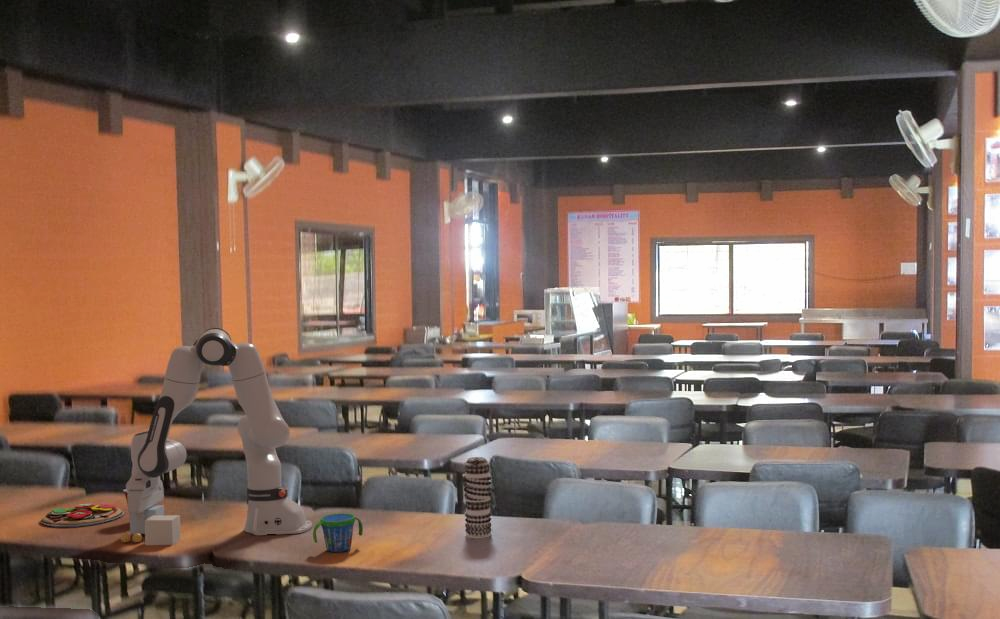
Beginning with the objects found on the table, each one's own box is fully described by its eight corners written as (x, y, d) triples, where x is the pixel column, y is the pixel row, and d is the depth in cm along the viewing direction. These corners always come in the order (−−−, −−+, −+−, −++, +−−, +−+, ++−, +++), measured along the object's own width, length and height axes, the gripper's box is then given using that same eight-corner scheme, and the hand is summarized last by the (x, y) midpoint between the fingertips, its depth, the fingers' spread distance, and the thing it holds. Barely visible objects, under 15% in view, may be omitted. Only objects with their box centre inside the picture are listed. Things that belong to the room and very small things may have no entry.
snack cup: (317, 557, 295) (316, 523, 295) (309, 548, 305) (308, 516, 304) (367, 550, 301) (367, 517, 301) (358, 542, 311) (357, 510, 310)
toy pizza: (78, 532, 333) (78, 519, 333) (22, 525, 345) (22, 512, 345) (140, 514, 358) (140, 502, 358) (86, 508, 370) (86, 496, 370)
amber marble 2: (143, 541, 318) (143, 532, 318) (139, 543, 315) (139, 534, 315) (134, 541, 318) (134, 532, 318) (130, 543, 315) (130, 534, 315)
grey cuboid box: (180, 539, 319) (179, 515, 318) (172, 545, 312) (172, 520, 312) (153, 539, 319) (153, 515, 319) (145, 545, 313) (144, 520, 313)
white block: (164, 528, 329) (163, 505, 329) (156, 533, 323) (155, 509, 323) (138, 529, 330) (137, 505, 330) (130, 533, 323) (129, 509, 323)
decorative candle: (474, 540, 311) (472, 462, 310) (459, 534, 318) (457, 457, 318) (498, 535, 316) (496, 458, 315) (482, 529, 323) (481, 454, 323)
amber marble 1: (132, 541, 318) (132, 532, 318) (128, 543, 315) (128, 534, 315) (123, 541, 318) (123, 532, 318) (119, 543, 315) (119, 534, 315)
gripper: (150, 473, 336) (151, 513, 337) (123, 485, 316) (124, 528, 316) (167, 473, 336) (169, 513, 336) (142, 485, 316) (143, 528, 316)
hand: (147, 520), depth 326 cm, fingers closed on white block, 6 cm apart
